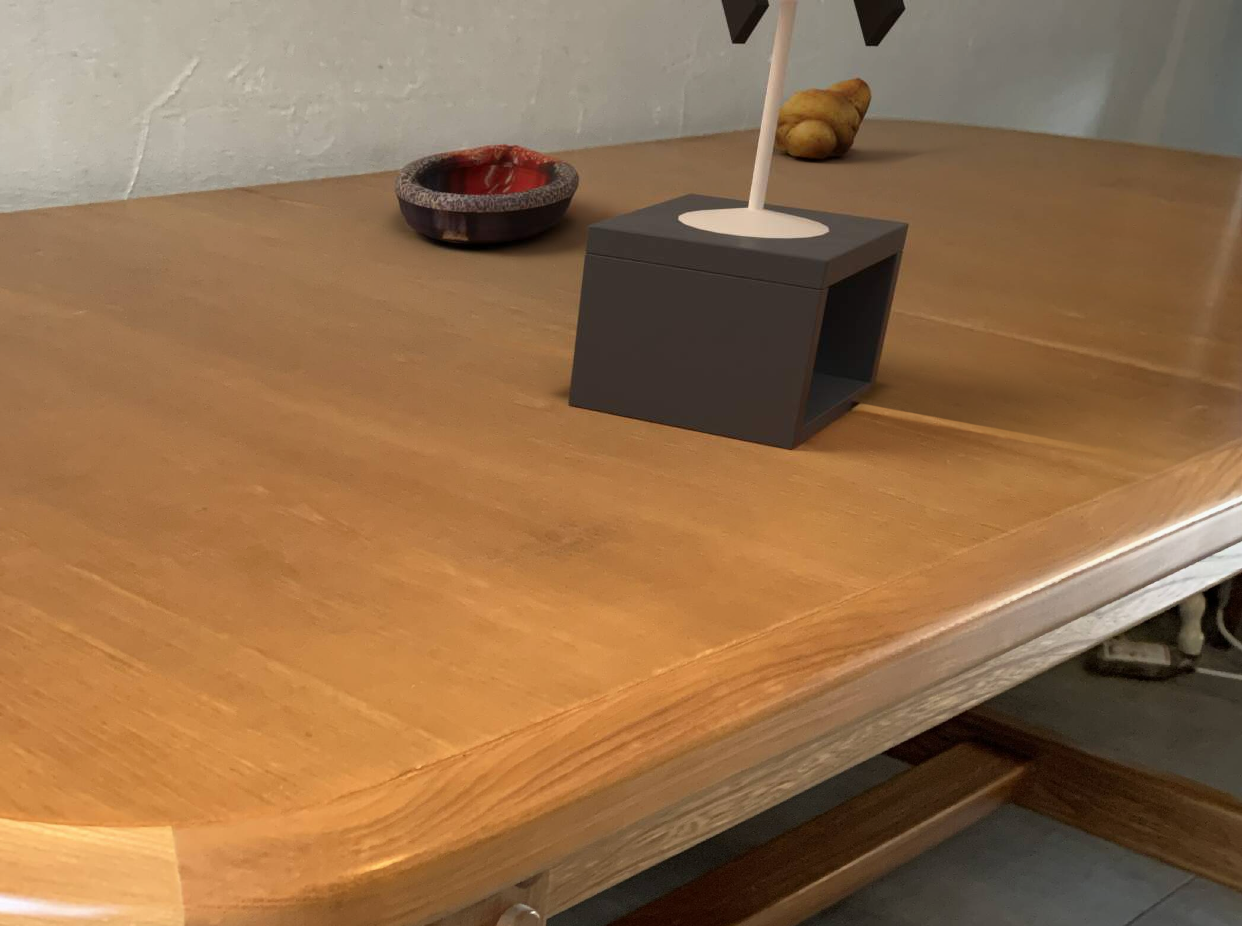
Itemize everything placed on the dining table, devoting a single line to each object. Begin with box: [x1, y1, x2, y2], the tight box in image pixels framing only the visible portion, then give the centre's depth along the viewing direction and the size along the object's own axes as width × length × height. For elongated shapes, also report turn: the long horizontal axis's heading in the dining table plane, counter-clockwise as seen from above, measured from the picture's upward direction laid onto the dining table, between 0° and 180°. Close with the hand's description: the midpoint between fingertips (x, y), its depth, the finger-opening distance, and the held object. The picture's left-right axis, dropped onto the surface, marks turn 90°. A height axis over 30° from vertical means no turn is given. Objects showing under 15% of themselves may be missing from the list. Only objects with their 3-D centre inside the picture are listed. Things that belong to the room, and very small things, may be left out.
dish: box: [393, 143, 580, 245], centre depth 148 cm, size 16×31×5 cm, turn 164°
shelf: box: [568, 193, 910, 450], centre depth 100 cm, size 14×15×10 cm
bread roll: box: [774, 76, 872, 160], centre depth 191 cm, size 13×10×8 cm
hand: (818, 26), depth 89 cm, fingers closed on wineglass, 7 cm apart
